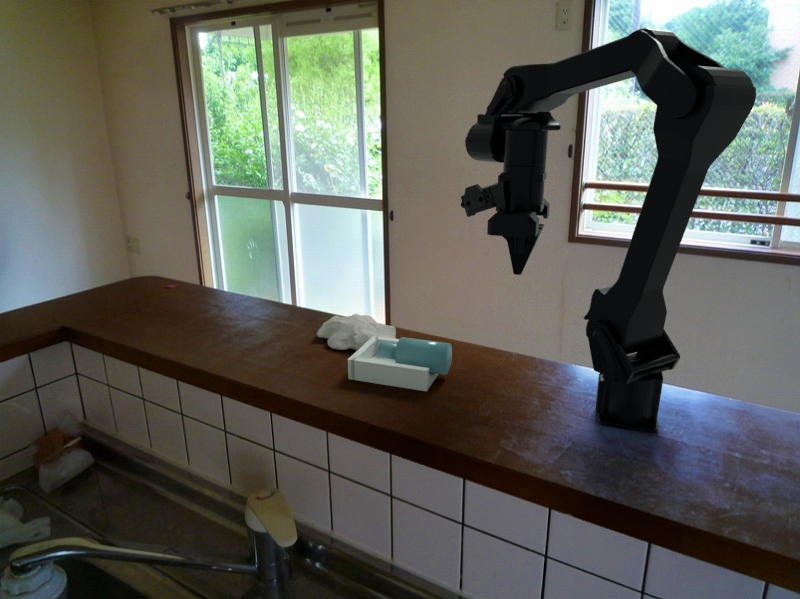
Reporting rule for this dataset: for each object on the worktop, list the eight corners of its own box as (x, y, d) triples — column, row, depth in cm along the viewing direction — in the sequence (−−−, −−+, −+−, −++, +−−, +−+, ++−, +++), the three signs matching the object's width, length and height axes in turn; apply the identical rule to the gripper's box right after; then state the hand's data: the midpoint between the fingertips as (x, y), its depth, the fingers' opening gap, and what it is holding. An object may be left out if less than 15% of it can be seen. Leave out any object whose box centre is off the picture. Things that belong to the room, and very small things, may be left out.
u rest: (445, 363, 82) (445, 345, 82) (426, 391, 74) (426, 370, 73) (373, 353, 86) (373, 335, 85) (348, 379, 78) (347, 359, 77)
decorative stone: (303, 345, 91) (379, 373, 84) (302, 325, 89) (379, 352, 82) (344, 317, 99) (416, 341, 92) (343, 298, 97) (416, 321, 90)
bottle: (452, 338, 78) (386, 330, 81) (443, 351, 74) (374, 341, 77) (451, 366, 79) (386, 357, 83) (443, 380, 75) (375, 370, 79)
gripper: (480, 159, 87) (476, 256, 92) (450, 168, 71) (447, 286, 75) (553, 161, 84) (545, 261, 89) (539, 171, 67) (530, 293, 72)
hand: (517, 274), depth 81 cm, fingers closed
